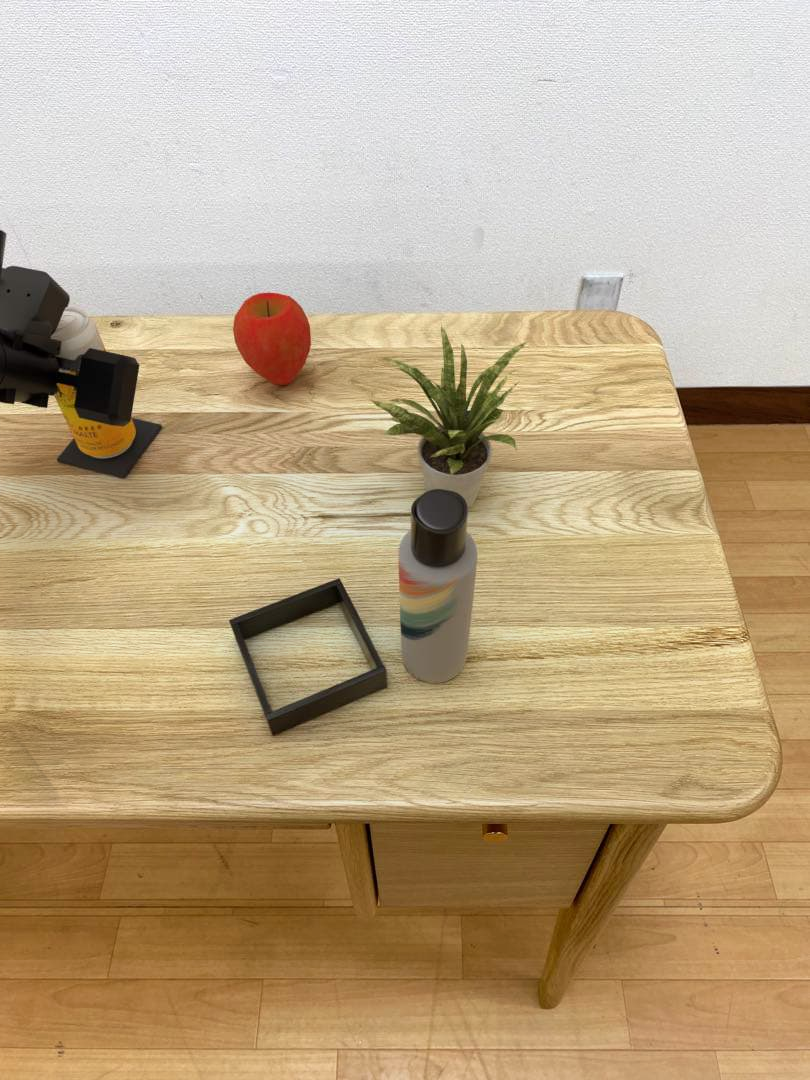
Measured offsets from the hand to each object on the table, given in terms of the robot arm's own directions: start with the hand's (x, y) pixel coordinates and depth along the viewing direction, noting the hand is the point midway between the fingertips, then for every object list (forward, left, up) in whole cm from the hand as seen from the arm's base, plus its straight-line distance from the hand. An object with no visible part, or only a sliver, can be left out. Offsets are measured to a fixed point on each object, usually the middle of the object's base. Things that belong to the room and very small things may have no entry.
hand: (94, 382), depth 77 cm
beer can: (-1, -1, -7) cm, 7 cm away
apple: (+19, +1, -8) cm, 21 cm away
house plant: (+30, -22, -8) cm, 38 cm away
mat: (-1, -1, -8) cm, 8 cm away
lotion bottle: (+19, -39, -8) cm, 44 cm away
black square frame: (+9, -35, -8) cm, 37 cm away
